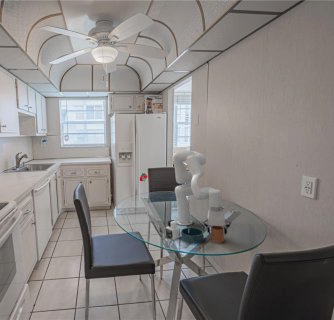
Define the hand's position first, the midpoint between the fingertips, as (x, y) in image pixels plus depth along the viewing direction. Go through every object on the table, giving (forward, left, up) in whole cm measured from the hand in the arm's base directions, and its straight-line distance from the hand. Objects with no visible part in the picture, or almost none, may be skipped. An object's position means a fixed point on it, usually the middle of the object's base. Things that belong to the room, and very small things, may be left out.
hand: (217, 233), depth 140 cm
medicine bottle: (-23, -17, -5) cm, 29 cm away
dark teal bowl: (-12, -10, -5) cm, 16 cm away
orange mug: (-1, +1, -5) cm, 5 cm away
